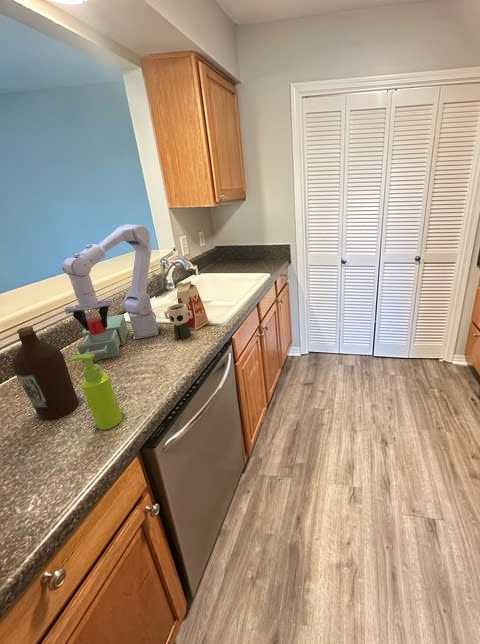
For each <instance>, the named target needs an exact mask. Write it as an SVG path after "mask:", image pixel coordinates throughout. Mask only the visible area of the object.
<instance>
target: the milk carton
mask: <svg viewBox="0 0 480 644" xmlns="http://www.w3.org/2000/svg"><path fill="white" fill-rule="evenodd" d="M175 285H176V286H177V289H176V297H177V304H185V305H186V306H187V311H192V316H193V318H189V320H188V321H187V324H188V326H189V329H190V331H197V330H199V329H200V328H202V327H204V326H205V325H207V324H208V323H210V321H209V317H208V315H207V312H206V308H205V306H204V303H203V300H202V298H201V295H200V293H199V290H198V288H197V285H196V284H193V283H192V280H190V281H187V282H184V283H176V284H175ZM188 316H190V313H188Z"/></svg>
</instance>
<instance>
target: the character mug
mask: <svg viewBox="0 0 480 644" xmlns="http://www.w3.org/2000/svg"><path fill="white" fill-rule="evenodd" d="M166 310H167V311H164V312H163V313H164V318H165V319H166V320H169V322H170V324H172V325H173V334H174V338H175V339H177V340H182V339H187V338H189V337H190V336H191V334H192V332H191V329H189V326H188V324H187V321H188V320H189V318H193V316H192V311H187V306H186V305H185V304H178V303H175V304H171V305H169V306H168V307H167V309H166ZM188 313H190V316H188Z"/></svg>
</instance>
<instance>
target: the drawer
mask: <svg viewBox="0 0 480 644" xmlns="http://www.w3.org/2000/svg"><path fill="white" fill-rule="evenodd" d="M120 342H121V339H120V336H119V333H118V330H117V329H113V330H108V331H105V332H104V333H102V334H98V335H91V334H87V336H86V338H85V339H84V338H83V342H82V343H81V345H78V346H77V350H78V352H79V355H80V354H95V357H94V358H93V359H92V361H93V362H94V361H99V360H102V359H109V358H113V357H117V356H120V351H119V348H120V346H121V345H120ZM81 361H82V363H84V361H83V360H81Z"/></svg>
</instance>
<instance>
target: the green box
mask: <svg viewBox="0 0 480 644" xmlns="http://www.w3.org/2000/svg"><path fill="white" fill-rule="evenodd" d="M107 325H108V326H107V328H106V331H108V330H113V329H117V330H118V333H119V336H120V339H121V342H120V345H119V346H125V345H126V341H127V339H128V334H129V329H128V325H127V322H126V318H125V315H124V314H117V315H110V316H107ZM81 334H82V338H83V340H84V339H85V338H86V336H87V334H90V332H89V331H86V330H85V328H84V327H83V330H82V332H81Z"/></svg>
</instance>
